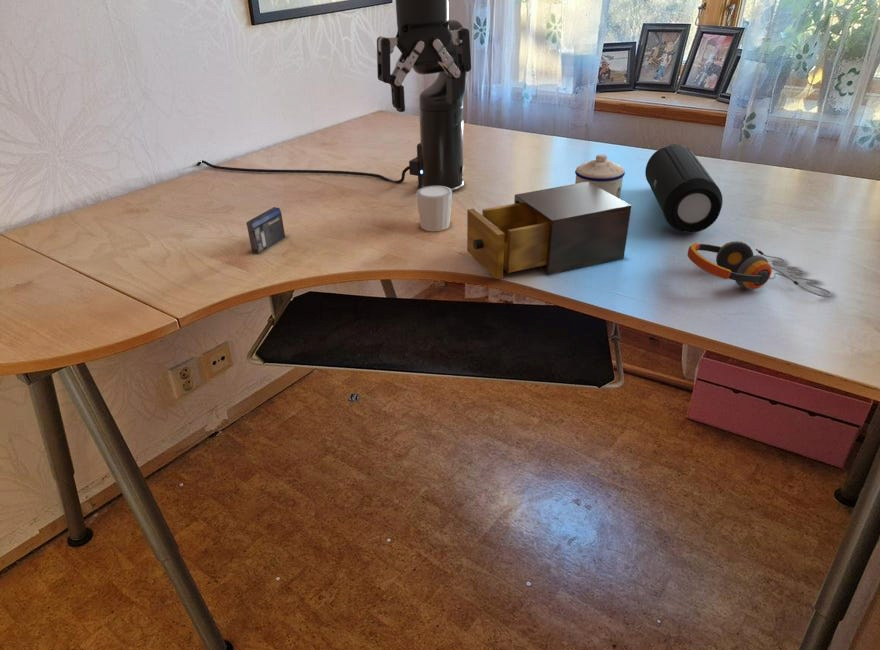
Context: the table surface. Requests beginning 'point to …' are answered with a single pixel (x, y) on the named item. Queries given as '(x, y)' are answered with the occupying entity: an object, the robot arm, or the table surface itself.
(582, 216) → the cabinet
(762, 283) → the headphones
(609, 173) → the teacup with lid
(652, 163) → the portable speaker
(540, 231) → the wooden drawer
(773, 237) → the table surface
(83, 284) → the table surface
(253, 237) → the mini dv tape
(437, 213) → the white faceted cylinder
